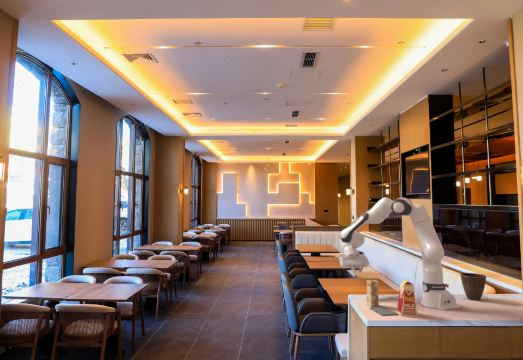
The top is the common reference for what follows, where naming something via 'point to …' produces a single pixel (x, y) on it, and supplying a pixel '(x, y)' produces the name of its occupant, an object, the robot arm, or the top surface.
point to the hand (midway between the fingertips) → (358, 272)
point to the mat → (383, 311)
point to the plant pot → (473, 285)
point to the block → (372, 293)
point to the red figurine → (407, 300)
